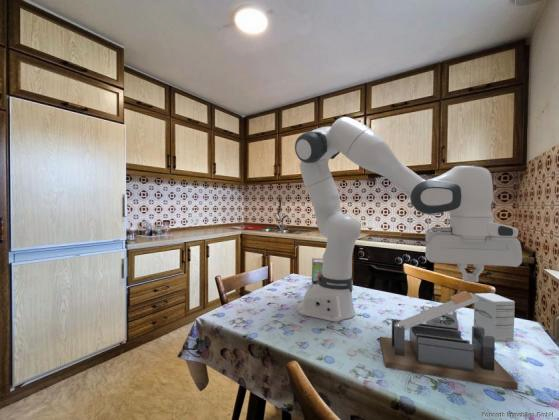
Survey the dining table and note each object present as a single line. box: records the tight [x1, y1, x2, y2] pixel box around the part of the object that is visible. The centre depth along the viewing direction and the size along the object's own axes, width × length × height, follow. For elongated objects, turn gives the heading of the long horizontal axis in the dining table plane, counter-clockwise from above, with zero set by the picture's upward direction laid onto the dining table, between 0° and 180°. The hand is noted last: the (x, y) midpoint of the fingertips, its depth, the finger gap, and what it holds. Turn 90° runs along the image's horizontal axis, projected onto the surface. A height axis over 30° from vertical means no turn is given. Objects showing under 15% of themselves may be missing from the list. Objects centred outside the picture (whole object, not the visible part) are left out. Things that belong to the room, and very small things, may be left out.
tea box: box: [311, 257, 323, 288], centre depth 126 cm, size 15×10×15 cm
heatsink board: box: [379, 318, 519, 391], centre depth 67 cm, size 28×13×10 cm, turn 74°
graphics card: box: [419, 305, 460, 330], centre depth 89 cm, size 17×4×12 cm
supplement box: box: [473, 292, 516, 342], centre depth 81 cm, size 7×7×13 cm
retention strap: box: [394, 290, 479, 331], centre depth 67 cm, size 22×3×2 cm, turn 74°
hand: (470, 281), depth 65 cm, fingers closed
